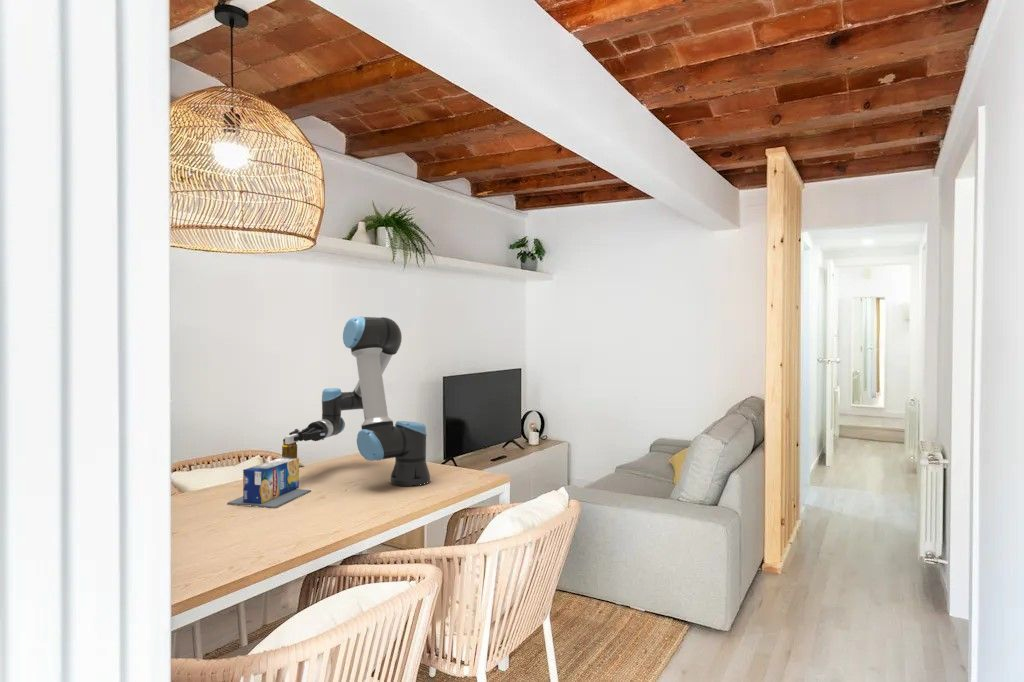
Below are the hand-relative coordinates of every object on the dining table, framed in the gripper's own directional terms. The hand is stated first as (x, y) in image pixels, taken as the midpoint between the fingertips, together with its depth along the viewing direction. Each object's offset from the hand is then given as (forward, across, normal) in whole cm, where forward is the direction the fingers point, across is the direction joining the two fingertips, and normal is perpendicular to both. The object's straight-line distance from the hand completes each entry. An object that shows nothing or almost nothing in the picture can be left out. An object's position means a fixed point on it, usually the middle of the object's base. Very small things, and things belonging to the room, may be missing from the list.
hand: (286, 440), depth 232 cm
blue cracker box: (-2, 0, -12) cm, 12 cm away
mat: (+10, 0, -18) cm, 21 cm away
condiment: (-36, +19, -18) cm, 45 cm away
